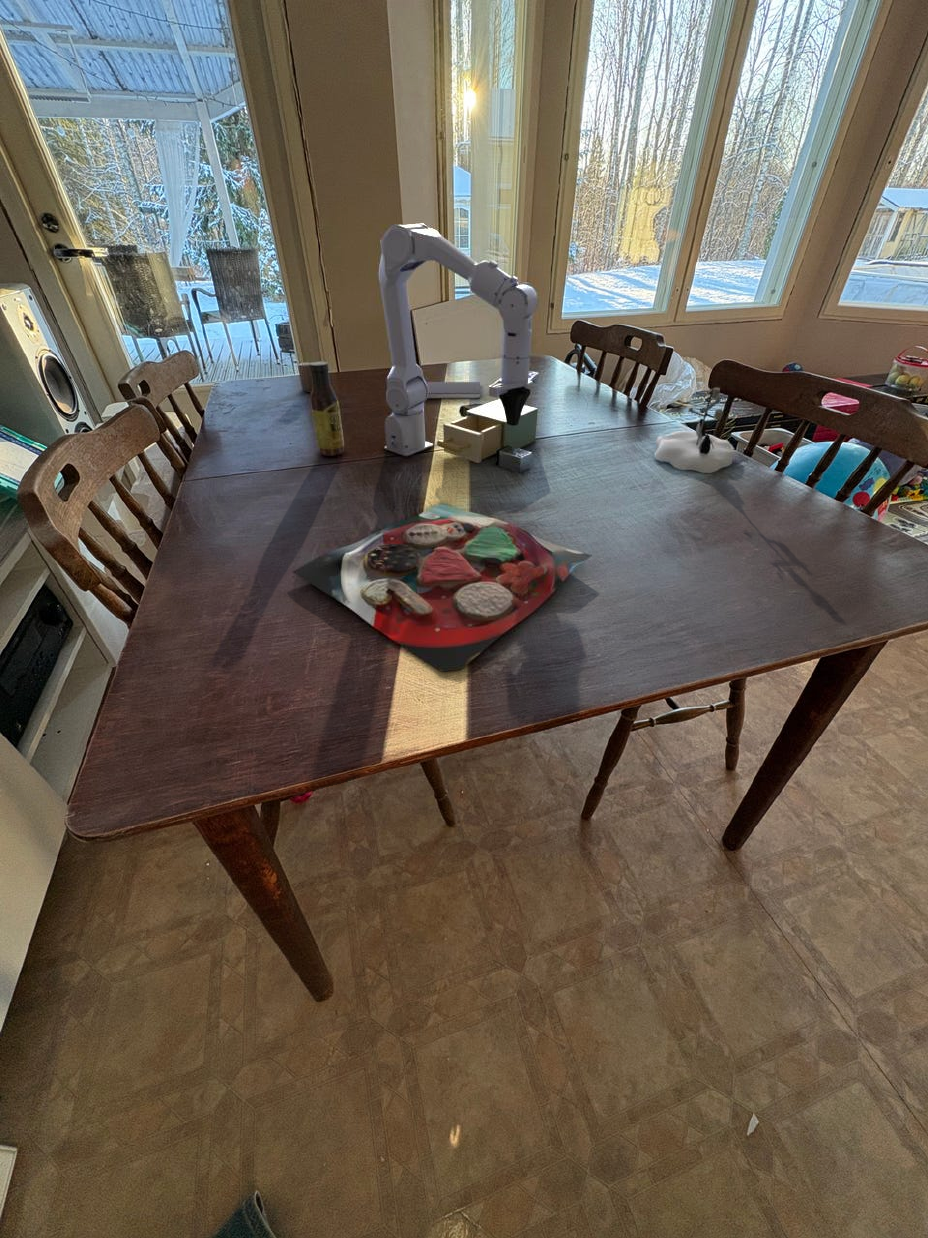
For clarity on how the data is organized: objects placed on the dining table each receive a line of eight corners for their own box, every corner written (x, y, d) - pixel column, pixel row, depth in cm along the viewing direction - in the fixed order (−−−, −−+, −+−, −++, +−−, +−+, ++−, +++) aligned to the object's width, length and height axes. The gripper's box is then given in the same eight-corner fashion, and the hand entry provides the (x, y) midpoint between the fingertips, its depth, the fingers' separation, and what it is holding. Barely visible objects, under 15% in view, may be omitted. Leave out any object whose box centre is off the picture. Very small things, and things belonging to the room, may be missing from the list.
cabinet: (503, 455, 122) (505, 421, 117) (466, 443, 129) (466, 411, 123) (535, 440, 130) (538, 408, 125) (498, 430, 136) (499, 398, 131)
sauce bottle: (339, 458, 122) (324, 367, 109) (315, 456, 123) (297, 366, 110) (349, 448, 127) (336, 360, 114) (326, 446, 128) (310, 359, 115)
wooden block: (320, 390, 166) (315, 363, 161) (311, 393, 163) (306, 365, 158) (311, 388, 168) (306, 361, 163) (302, 391, 165) (297, 364, 160)
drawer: (465, 469, 114) (465, 440, 110) (430, 457, 120) (429, 429, 116) (510, 448, 124) (512, 420, 120) (476, 437, 130) (476, 411, 126)
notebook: (479, 386, 168) (415, 387, 168) (479, 381, 167) (414, 382, 167) (480, 398, 158) (412, 398, 158) (480, 392, 157) (411, 393, 157)
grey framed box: (519, 473, 115) (520, 457, 112) (495, 465, 118) (496, 449, 116) (530, 467, 117) (531, 451, 115) (506, 459, 121) (507, 444, 118)
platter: (439, 503, 103) (439, 494, 102) (591, 566, 85) (593, 556, 84) (293, 576, 83) (290, 566, 82) (451, 679, 65) (451, 668, 64)
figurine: (665, 431, 132) (681, 364, 120) (740, 445, 124) (765, 375, 113) (641, 465, 120) (657, 394, 108) (723, 483, 113) (749, 409, 101)
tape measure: (480, 414, 146) (481, 400, 144) (491, 421, 141) (491, 407, 139) (459, 417, 144) (458, 403, 142) (469, 425, 139) (468, 410, 137)
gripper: (509, 365, 97) (506, 437, 105) (552, 352, 105) (546, 419, 114) (481, 360, 100) (480, 429, 109) (524, 347, 109) (520, 413, 117)
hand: (512, 424), depth 112 cm, fingers closed
